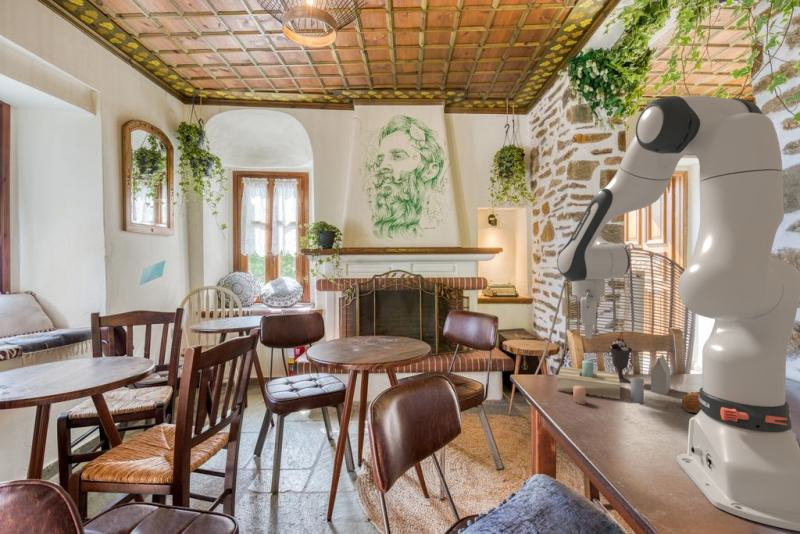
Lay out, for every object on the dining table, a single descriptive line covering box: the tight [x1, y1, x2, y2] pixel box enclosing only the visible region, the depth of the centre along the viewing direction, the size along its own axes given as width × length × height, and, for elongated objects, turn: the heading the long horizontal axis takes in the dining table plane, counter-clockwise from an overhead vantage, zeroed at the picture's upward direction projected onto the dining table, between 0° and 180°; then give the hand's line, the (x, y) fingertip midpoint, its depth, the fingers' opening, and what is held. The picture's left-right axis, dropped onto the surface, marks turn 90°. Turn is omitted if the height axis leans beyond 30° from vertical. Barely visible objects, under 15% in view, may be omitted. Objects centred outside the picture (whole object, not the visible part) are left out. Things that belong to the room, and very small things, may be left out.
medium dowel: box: [630, 377, 645, 404], centre depth 104 cm, size 3×3×6 cm
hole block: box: [557, 366, 621, 400], centre depth 115 cm, size 12×16×4 cm
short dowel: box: [572, 386, 587, 404], centre depth 104 cm, size 3×3×4 cm
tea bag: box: [650, 353, 671, 396], centre depth 112 cm, size 4×7×10 cm, turn 137°
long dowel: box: [581, 360, 594, 378], centre depth 115 cm, size 3×3×8 cm
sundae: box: [608, 331, 633, 383], centre depth 122 cm, size 7×7×15 cm
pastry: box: [681, 391, 701, 414], centre depth 98 cm, size 9×7×4 cm
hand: (589, 335), depth 114 cm, fingers open, 8 cm apart
